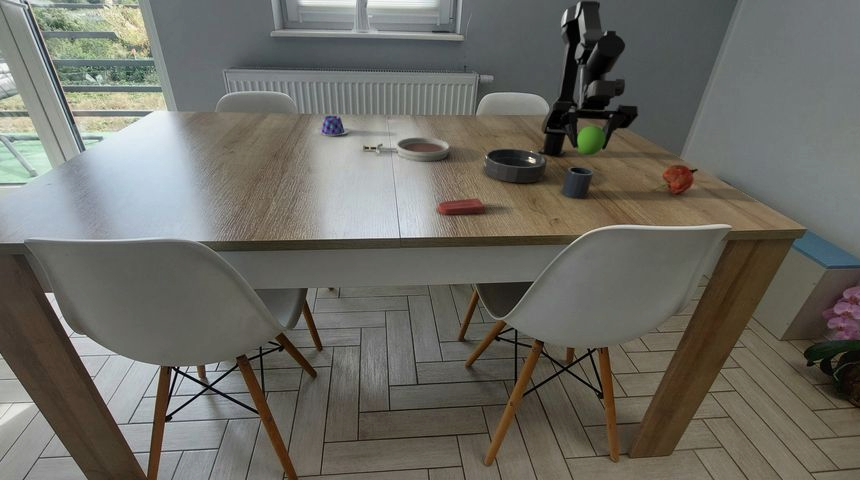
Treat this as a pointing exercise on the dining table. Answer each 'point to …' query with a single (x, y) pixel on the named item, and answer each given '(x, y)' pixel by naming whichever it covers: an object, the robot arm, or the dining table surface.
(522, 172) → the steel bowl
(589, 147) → the ball
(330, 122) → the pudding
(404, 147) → the frying pan
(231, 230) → the dining table surface
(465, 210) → the popsicle
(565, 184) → the stand cup
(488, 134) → the dining table surface
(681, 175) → the red rounded piece
